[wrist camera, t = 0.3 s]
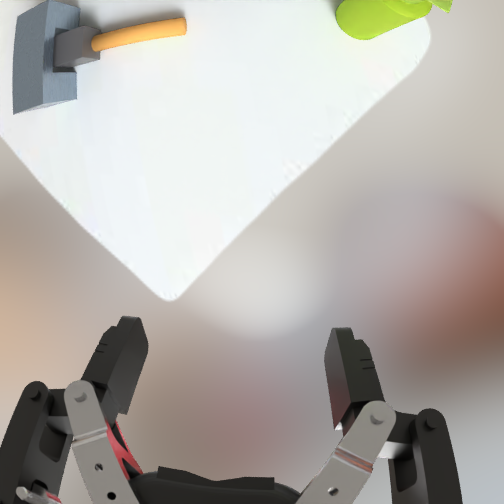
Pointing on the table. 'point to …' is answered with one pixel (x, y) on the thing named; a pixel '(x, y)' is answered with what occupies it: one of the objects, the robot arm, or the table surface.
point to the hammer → (108, 40)
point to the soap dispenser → (382, 15)
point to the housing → (41, 57)
